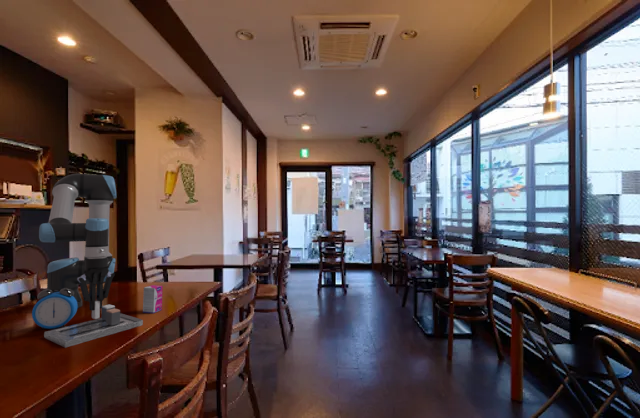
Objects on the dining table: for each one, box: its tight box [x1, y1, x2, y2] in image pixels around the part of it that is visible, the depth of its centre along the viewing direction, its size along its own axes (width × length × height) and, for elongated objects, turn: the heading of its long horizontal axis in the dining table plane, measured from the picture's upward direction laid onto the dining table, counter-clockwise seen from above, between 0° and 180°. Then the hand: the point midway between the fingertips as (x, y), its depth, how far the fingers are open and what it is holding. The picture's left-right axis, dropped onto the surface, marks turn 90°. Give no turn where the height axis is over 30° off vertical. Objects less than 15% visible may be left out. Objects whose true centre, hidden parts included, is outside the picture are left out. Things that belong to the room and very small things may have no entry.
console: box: [43, 312, 144, 349], centre depth 122 cm, size 17×26×2 cm, turn 149°
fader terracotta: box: [106, 307, 121, 326], centre depth 123 cm, size 4×3×5 cm
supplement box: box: [142, 284, 163, 315], centre depth 148 cm, size 6×6×12 cm
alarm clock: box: [31, 288, 79, 331], centre depth 127 cm, size 13×6×15 cm, turn 115°
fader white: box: [100, 304, 116, 320], centre depth 129 cm, size 4×3×5 cm
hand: (95, 317), depth 125 cm, fingers closed
